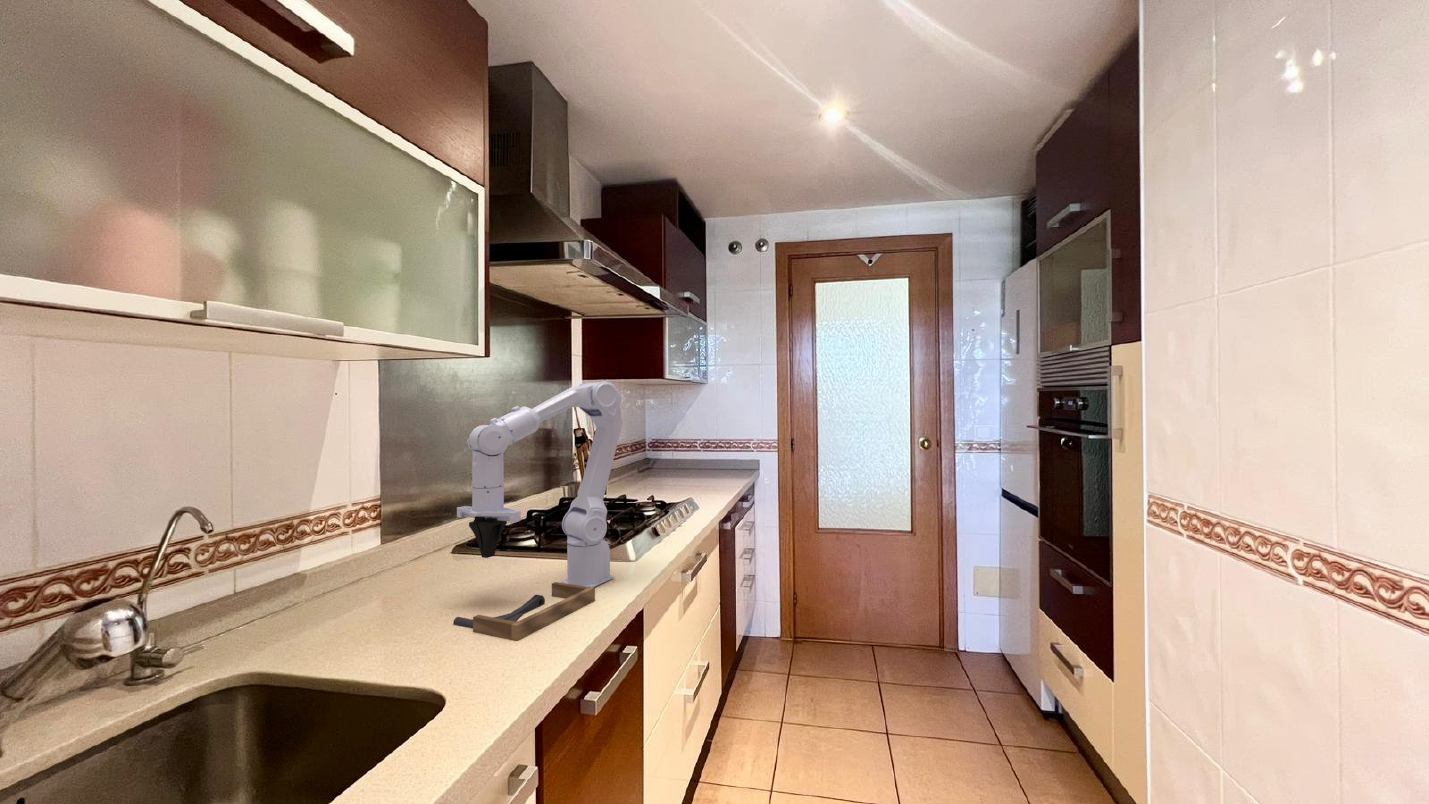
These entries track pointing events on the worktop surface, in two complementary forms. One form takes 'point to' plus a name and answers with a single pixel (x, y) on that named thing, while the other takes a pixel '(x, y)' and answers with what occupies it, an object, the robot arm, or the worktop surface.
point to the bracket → (511, 616)
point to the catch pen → (534, 622)
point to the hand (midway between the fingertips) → (488, 556)
